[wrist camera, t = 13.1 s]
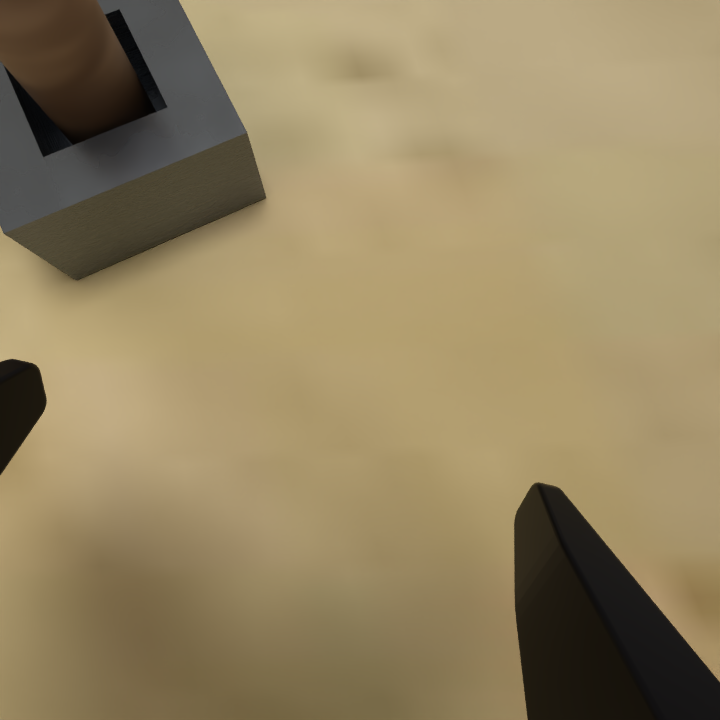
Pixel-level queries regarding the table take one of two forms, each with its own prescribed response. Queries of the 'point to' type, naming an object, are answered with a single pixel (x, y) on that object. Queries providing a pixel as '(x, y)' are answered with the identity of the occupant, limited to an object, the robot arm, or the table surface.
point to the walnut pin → (71, 65)
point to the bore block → (127, 154)
